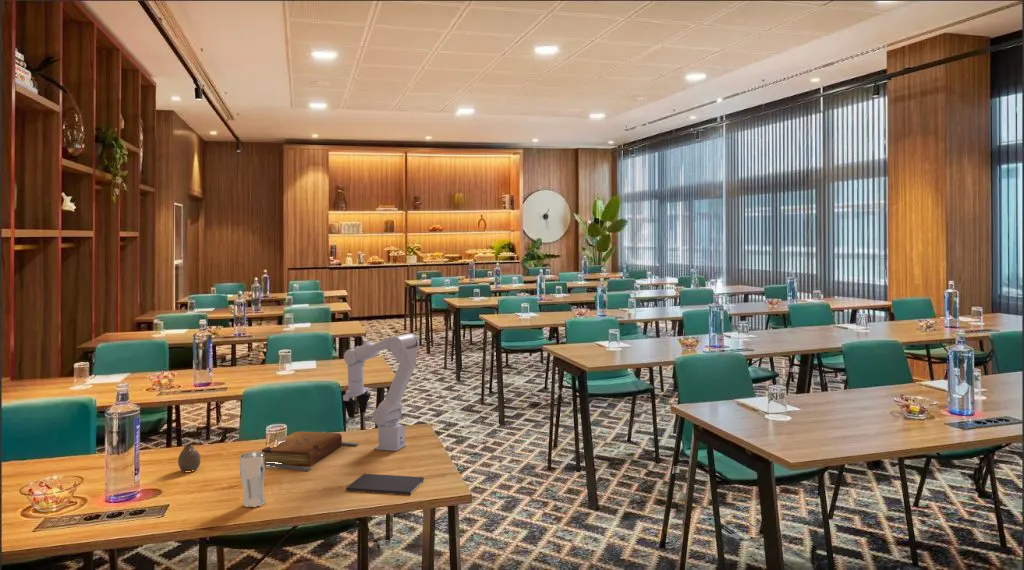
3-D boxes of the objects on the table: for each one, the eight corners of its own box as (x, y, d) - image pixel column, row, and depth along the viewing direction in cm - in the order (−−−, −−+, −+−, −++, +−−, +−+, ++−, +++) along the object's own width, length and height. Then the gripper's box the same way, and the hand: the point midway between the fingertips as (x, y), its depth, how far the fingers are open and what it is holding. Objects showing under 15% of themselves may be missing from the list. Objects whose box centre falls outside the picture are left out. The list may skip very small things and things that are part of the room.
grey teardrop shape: (175, 471, 236) (173, 446, 235) (195, 465, 241) (194, 441, 241) (183, 475, 231) (182, 449, 231) (204, 470, 236) (202, 445, 236)
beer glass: (258, 509, 200) (255, 459, 199) (237, 508, 202) (234, 458, 201) (271, 500, 207) (268, 451, 206) (250, 499, 208) (247, 450, 207)
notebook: (346, 492, 214) (410, 496, 209) (346, 487, 213) (410, 491, 209) (364, 478, 226) (425, 481, 221) (363, 473, 226) (425, 477, 221)
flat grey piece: (357, 445, 260) (357, 443, 260) (308, 471, 232) (308, 468, 232) (297, 439, 270) (297, 437, 270) (243, 463, 242) (243, 461, 242)
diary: (311, 468, 237) (310, 452, 237) (262, 466, 241) (261, 449, 241) (342, 447, 259) (341, 432, 259) (297, 445, 264) (296, 430, 263)
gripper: (357, 375, 271) (358, 409, 272) (335, 383, 258) (337, 419, 259) (373, 376, 269) (374, 410, 270) (351, 384, 255) (353, 420, 256)
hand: (357, 415), depth 264 cm, fingers open, 7 cm apart
